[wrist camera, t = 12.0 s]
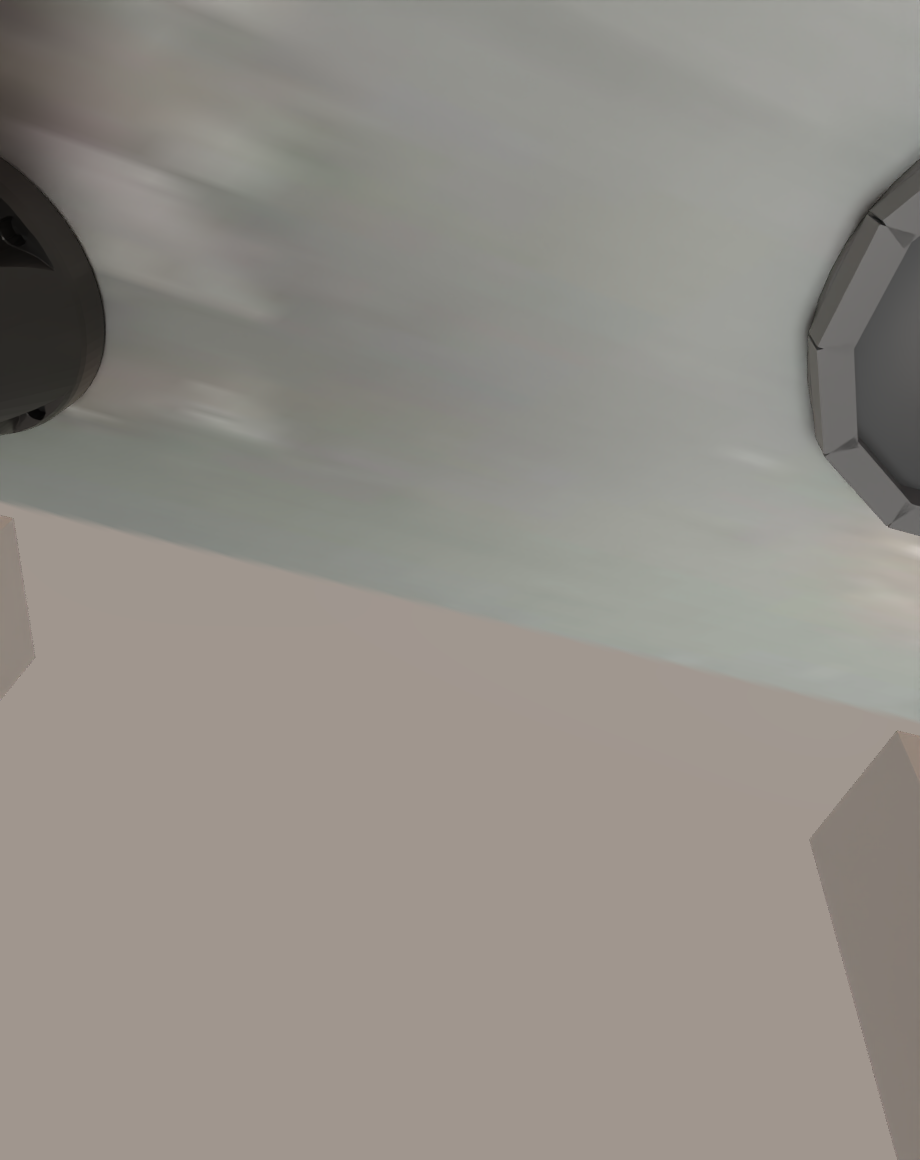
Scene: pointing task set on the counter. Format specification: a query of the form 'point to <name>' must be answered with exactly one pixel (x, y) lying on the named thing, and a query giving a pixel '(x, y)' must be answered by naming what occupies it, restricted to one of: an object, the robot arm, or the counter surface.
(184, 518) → the counter surface
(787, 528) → the counter surface
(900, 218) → the tray
